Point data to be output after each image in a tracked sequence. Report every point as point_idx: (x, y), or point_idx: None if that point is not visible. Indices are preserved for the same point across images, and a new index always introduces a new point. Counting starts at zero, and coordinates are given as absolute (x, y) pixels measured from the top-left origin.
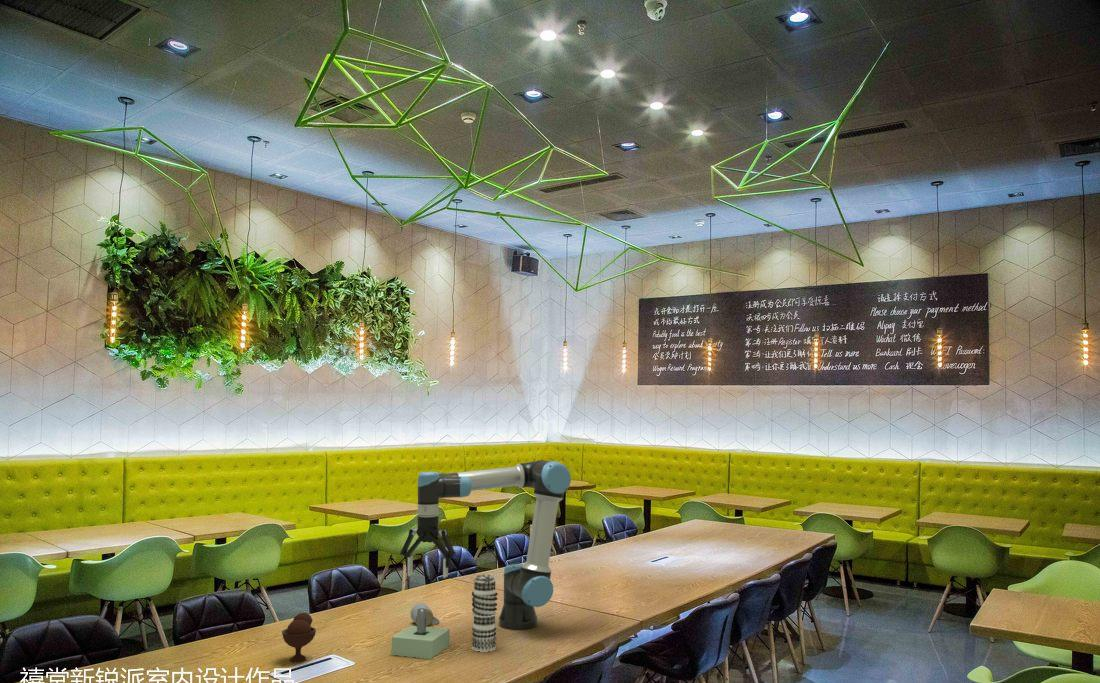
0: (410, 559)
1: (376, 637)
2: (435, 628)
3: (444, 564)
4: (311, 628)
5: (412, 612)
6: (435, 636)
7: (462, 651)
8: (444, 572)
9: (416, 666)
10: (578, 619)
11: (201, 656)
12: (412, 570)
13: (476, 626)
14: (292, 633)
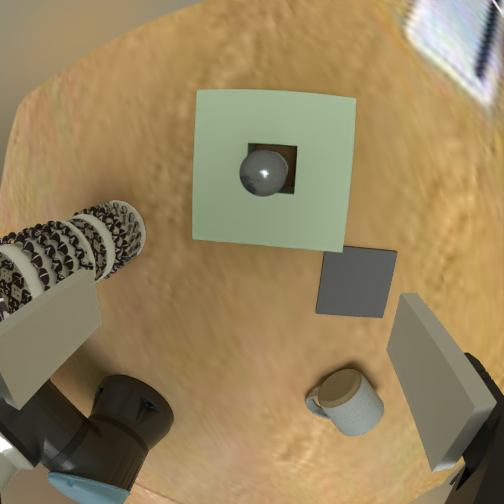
0: (451, 407)
1: (440, 266)
2: (242, 235)
3: (16, 313)
4: None
5: (378, 402)
6: (205, 140)
7: (157, 191)
8: (60, 284)
9: (232, 37)
10: None
11: None
12: (395, 367)
13: (91, 219)
14: None
